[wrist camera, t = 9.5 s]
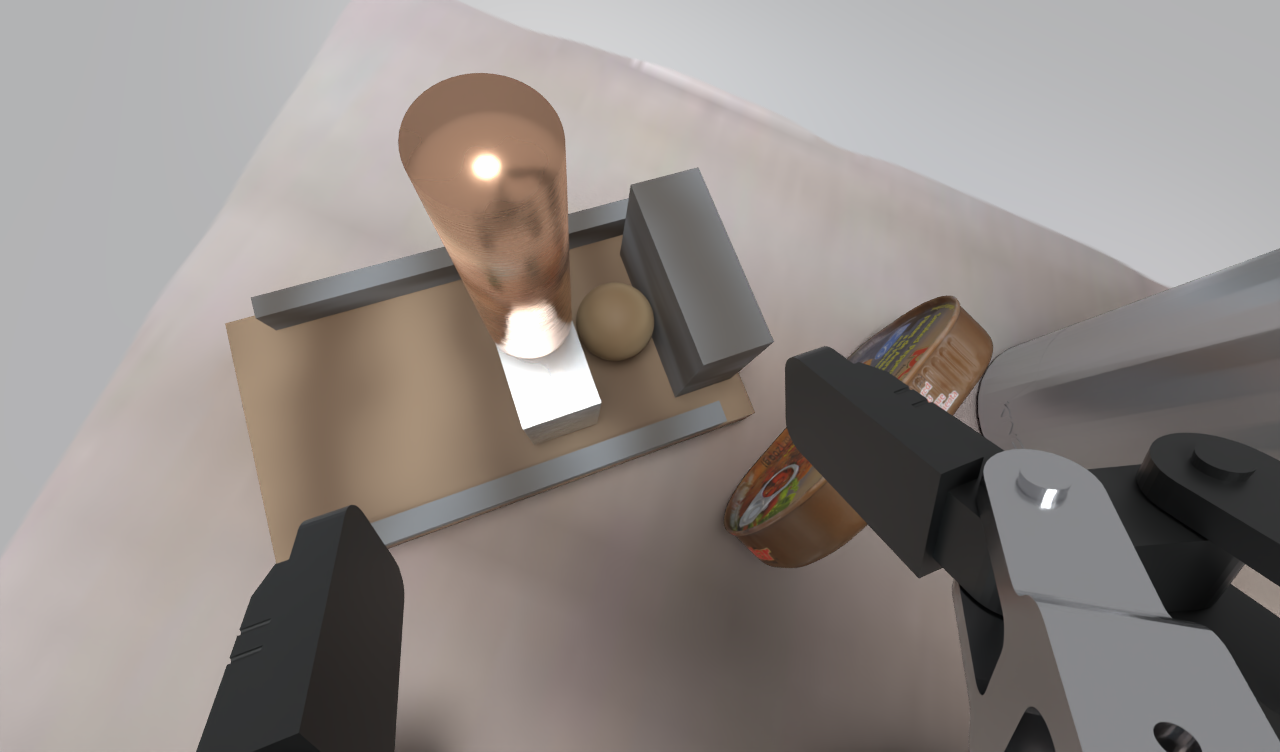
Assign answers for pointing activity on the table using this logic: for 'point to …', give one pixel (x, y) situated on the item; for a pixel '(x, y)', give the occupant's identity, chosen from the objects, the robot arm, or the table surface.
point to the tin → (798, 494)
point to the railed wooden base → (485, 373)
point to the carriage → (506, 234)
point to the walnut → (615, 321)
